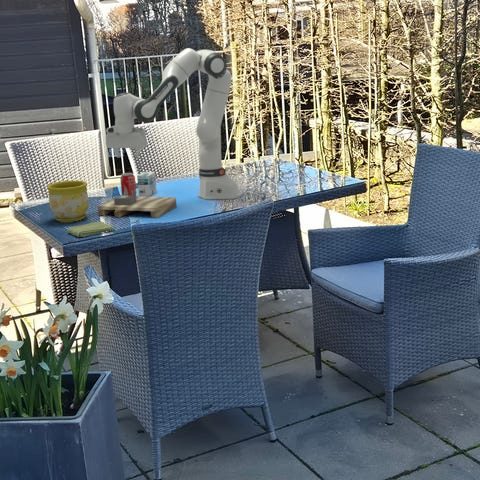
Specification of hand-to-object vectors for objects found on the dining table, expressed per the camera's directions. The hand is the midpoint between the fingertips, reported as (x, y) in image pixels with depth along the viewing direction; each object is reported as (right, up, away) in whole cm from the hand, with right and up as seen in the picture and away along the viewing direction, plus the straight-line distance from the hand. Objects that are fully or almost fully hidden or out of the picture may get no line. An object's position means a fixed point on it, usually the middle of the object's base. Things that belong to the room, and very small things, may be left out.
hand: (127, 157), depth 369 cm
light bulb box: (+5, -15, +36) cm, 39 cm away
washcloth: (-11, -36, -34) cm, 51 cm away
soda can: (0, -19, +6) cm, 20 cm away
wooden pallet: (+5, -25, -1) cm, 26 cm away
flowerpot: (-25, -30, -10) cm, 40 cm away
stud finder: (0, -22, -4) cm, 22 cm away
